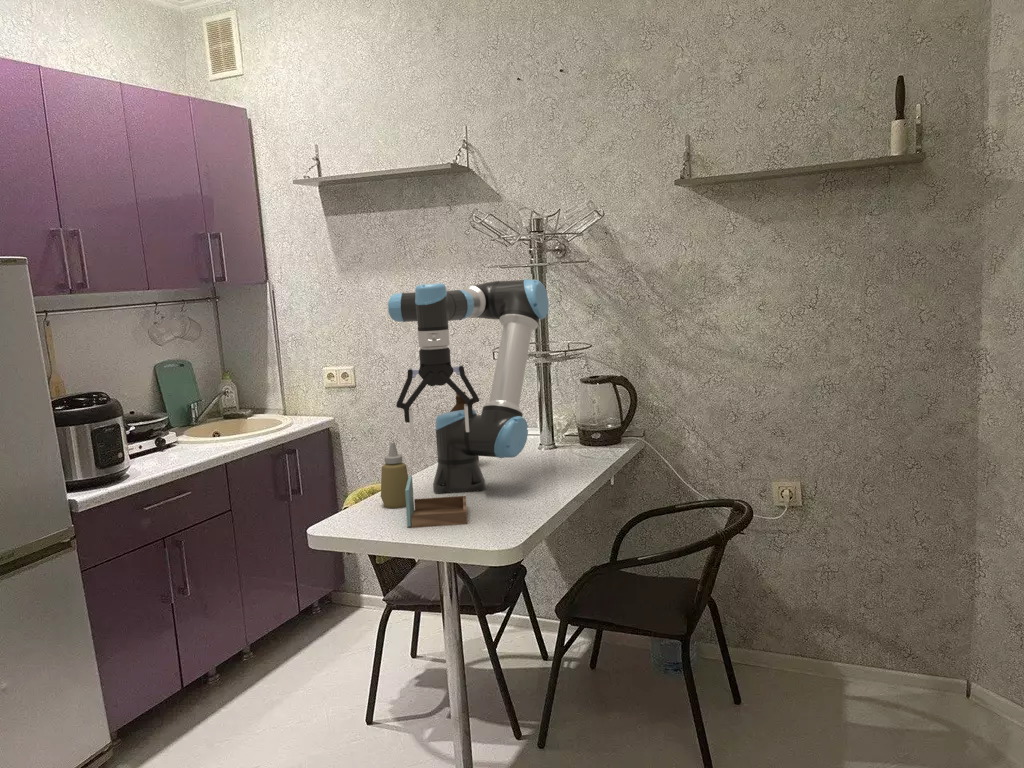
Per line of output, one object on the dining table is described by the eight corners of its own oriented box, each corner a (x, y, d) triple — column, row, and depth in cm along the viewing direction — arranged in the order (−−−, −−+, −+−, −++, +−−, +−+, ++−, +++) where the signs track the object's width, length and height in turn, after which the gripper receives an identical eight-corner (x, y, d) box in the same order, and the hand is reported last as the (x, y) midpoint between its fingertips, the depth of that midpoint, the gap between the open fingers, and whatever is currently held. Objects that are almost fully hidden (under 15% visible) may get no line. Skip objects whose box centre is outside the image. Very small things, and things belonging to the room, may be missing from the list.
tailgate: (411, 509, 200) (408, 475, 199) (414, 509, 200) (412, 475, 199) (407, 526, 185) (405, 490, 184) (410, 526, 185) (408, 490, 184)
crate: (410, 514, 200) (410, 499, 200) (466, 510, 201) (465, 495, 201) (407, 531, 185) (406, 515, 185) (467, 527, 186) (466, 512, 186)
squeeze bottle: (416, 504, 209) (412, 440, 207) (405, 513, 202) (401, 446, 199) (388, 504, 211) (384, 440, 209) (376, 512, 203) (372, 446, 201)
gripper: (381, 352, 181) (388, 440, 184) (486, 345, 184) (491, 432, 186) (383, 349, 188) (389, 434, 191) (484, 343, 191) (488, 426, 194)
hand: (440, 433), depth 189 cm, fingers open, 13 cm apart
